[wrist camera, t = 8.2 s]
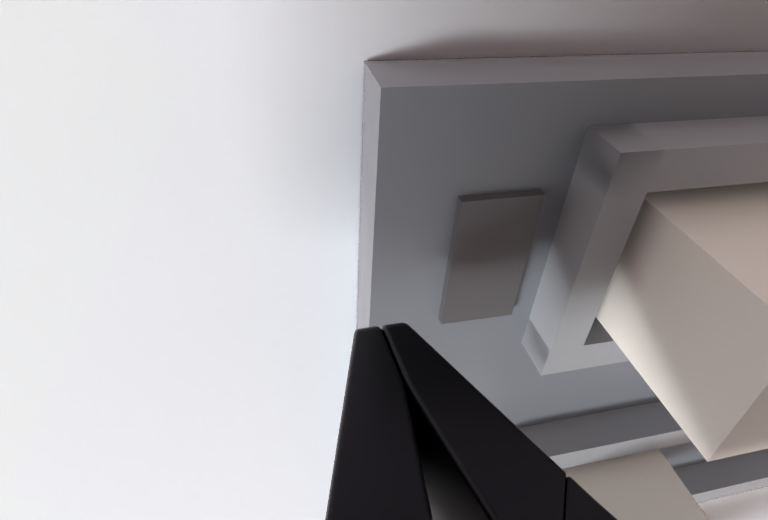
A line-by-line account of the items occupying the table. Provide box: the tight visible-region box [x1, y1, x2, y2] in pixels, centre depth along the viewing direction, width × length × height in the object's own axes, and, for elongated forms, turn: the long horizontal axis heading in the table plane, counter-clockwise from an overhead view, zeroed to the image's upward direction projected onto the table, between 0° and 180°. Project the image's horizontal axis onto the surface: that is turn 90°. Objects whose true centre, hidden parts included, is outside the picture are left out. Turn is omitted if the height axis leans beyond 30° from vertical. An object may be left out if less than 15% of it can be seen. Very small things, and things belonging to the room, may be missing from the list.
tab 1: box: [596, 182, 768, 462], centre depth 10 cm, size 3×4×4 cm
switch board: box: [357, 51, 768, 503], centre depth 15 cm, size 16×21×2 cm
